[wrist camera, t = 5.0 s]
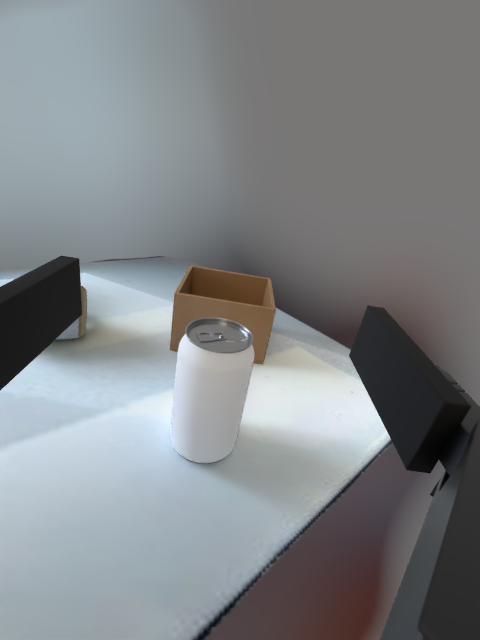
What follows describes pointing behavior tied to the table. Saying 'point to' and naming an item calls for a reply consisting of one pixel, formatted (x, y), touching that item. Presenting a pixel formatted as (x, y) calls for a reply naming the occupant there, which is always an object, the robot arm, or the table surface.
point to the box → (225, 304)
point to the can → (210, 388)
